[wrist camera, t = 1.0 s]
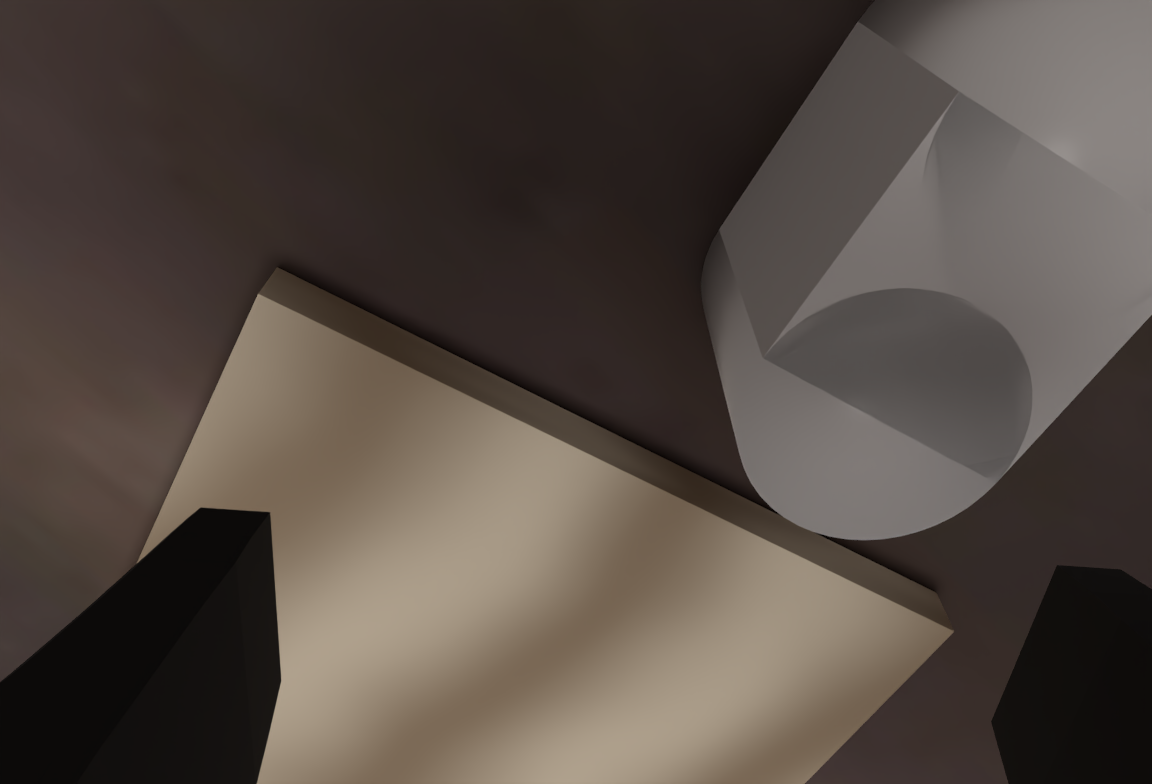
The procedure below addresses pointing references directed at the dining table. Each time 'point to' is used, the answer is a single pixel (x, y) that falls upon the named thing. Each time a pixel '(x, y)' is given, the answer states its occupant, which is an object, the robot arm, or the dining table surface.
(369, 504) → the birch board
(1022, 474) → the dining table surface
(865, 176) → the usb plug
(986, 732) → the dining table surface
